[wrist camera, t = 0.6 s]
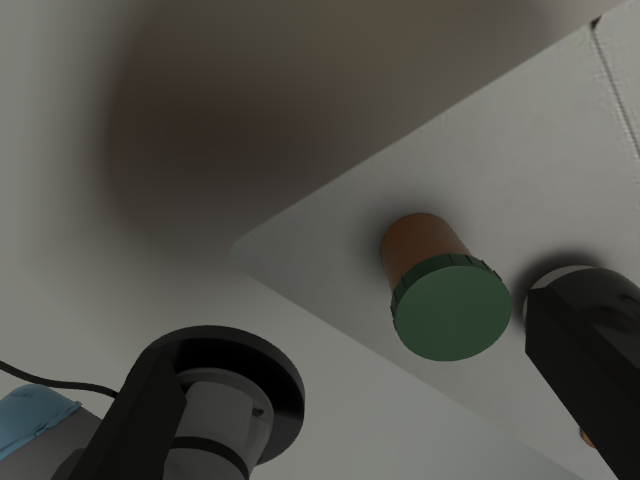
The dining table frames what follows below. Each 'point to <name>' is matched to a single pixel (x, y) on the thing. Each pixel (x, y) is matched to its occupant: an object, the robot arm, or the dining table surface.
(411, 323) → the lid
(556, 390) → the robot arm
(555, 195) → the dining table surface
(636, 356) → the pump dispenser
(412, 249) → the jar
